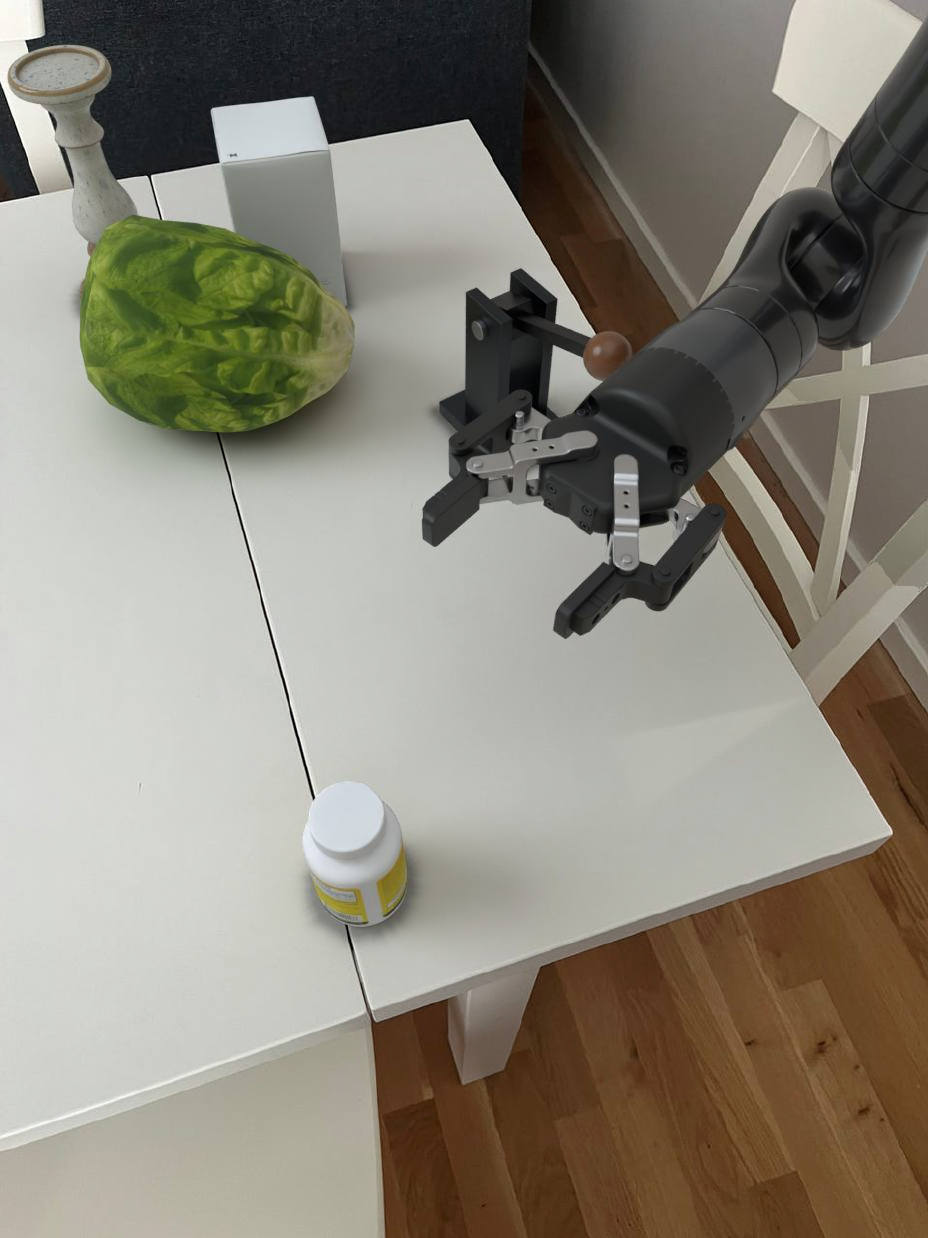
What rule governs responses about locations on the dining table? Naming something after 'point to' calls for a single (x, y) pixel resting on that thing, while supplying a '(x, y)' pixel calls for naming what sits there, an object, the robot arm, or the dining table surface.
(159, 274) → the lettuce
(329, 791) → the supplement bottle
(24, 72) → the candle holder
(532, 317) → the lever
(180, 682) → the dining table surface
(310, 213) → the rectangular carton
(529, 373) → the bracket
